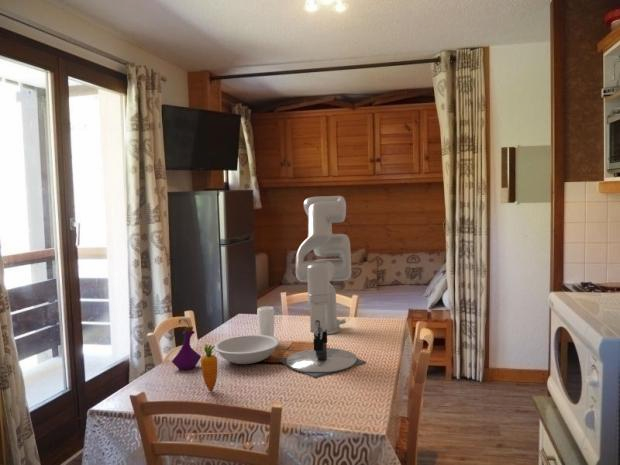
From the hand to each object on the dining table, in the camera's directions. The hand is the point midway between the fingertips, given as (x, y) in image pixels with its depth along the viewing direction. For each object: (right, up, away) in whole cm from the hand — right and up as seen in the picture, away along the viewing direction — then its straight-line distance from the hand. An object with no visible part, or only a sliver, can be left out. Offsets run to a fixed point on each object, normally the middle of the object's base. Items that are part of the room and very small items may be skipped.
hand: (320, 346), depth 181 cm
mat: (0, -6, +1) cm, 6 cm away
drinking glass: (-21, -5, +26) cm, 34 cm away
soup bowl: (-27, -7, +6) cm, 28 cm away
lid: (0, -5, +1) cm, 5 cm away
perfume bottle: (-48, -8, +2) cm, 48 cm away
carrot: (-35, -9, -22) cm, 42 cm away
